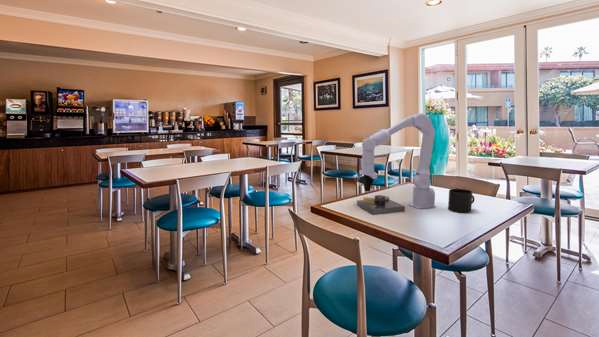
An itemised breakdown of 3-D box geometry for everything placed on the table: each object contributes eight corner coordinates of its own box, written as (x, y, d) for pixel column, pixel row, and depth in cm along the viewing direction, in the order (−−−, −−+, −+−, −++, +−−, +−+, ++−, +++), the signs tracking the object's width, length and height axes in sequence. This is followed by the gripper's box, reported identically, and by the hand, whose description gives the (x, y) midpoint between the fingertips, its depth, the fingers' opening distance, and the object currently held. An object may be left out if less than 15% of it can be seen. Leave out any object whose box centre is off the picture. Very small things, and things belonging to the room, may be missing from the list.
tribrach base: (386, 202, 161) (386, 194, 160) (404, 211, 145) (404, 202, 145) (356, 205, 156) (357, 196, 156) (372, 214, 141) (372, 205, 140)
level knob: (385, 201, 152) (385, 195, 152) (385, 204, 147) (385, 197, 147) (363, 200, 155) (363, 194, 154) (363, 203, 150) (363, 196, 150)
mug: (481, 212, 143) (482, 192, 141) (457, 213, 141) (458, 193, 139) (466, 206, 152) (467, 187, 151) (443, 208, 150) (444, 189, 148)
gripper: (354, 161, 159) (353, 188, 161) (367, 165, 146) (366, 194, 148) (366, 161, 161) (366, 187, 163) (381, 165, 147) (380, 193, 149)
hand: (367, 190), depth 156 cm, fingers closed
